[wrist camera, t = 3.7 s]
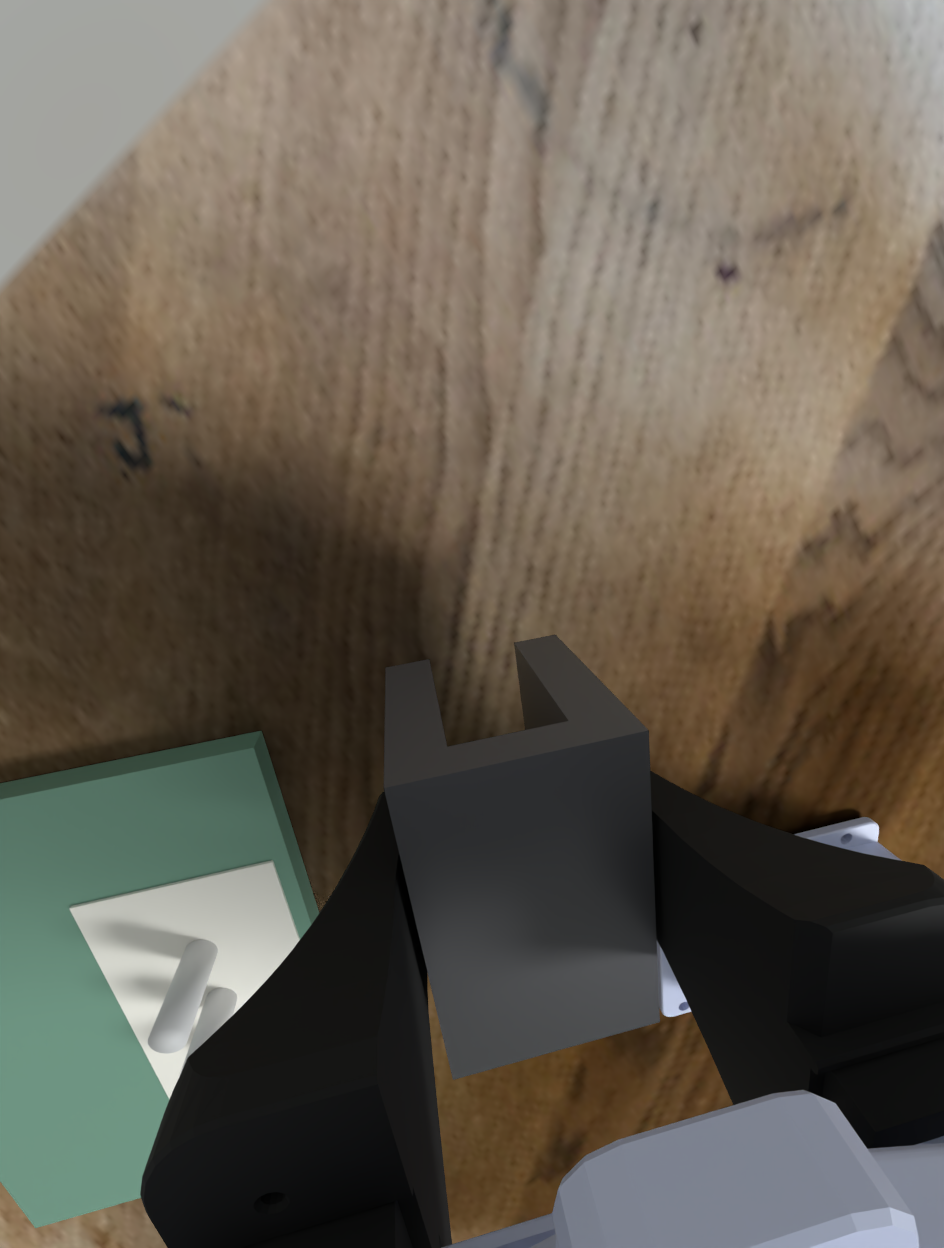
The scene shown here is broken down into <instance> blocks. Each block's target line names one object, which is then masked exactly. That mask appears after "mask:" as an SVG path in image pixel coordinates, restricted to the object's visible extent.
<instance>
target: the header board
mask: <svg viewBox="0 0 944 1248" xmlns="http://www.w3.org/2000/svg"><path fill="white" fill-rule="evenodd" d="M318 914H319V910H318V907H317V904H316V901H315V898H314V894H313V891H312V888H311V885H310V882H309V879H308V876H307V872H306V869H305V866H304V863H303V860H302V857H301V853H300V850H299V847H298V844H297V841H296V838H295V834H294V831H293V828H292V825H291V822H290V819H289V816H288V812H287V809H286V806H285V803H284V800H283V797H282V793H281V790H280V787H279V784H278V781H277V778H276V775H275V771H274V768H273V765H272V762H271V759H270V756H269V752H268V749H267V746H266V743H265V740H264V737H263V733H262V731H257V732H252V733H247V734H242V735H237V736H232V737H227V738H223V739H218V740H213V741H208V742H203V743H198V744H193V745H188V746H183V747H178V748H173V749H168V750H163V751H158V752H153V753H148V754H143V755H138V756H133V757H128V758H123V759H118V760H113V761H109V762H104V763H99V764H94V765H89V766H84V767H79V768H74V769H69V770H64V771H59V772H54V773H49V774H44V775H39V776H34V777H29V778H24V779H19V780H14V781H9V782H4V783H0V1182H1V1183H2V1184H3V1186H4V1187H5V1188H6V1190H7V1191H8V1192H9V1194H10V1195H11V1196H12V1198H13V1199H14V1200H15V1202H16V1203H17V1204H18V1205H19V1207H20V1208H21V1209H22V1211H23V1212H24V1213H25V1215H26V1216H27V1217H28V1219H29V1220H30V1221H31V1223H32V1224H33V1225H34V1227H35V1228H37V1227H41V1226H44V1225H48V1224H51V1223H55V1222H58V1221H62V1220H65V1219H69V1218H72V1217H76V1216H79V1215H83V1214H86V1213H90V1212H93V1211H96V1210H100V1209H103V1208H107V1207H110V1206H114V1205H117V1204H121V1203H124V1202H128V1201H131V1200H135V1199H138V1198H141V1196H140V1191H141V1183H142V1176H143V1173H144V1170H145V1167H146V1164H147V1161H148V1158H149V1155H150V1153H151V1150H152V1147H153V1144H154V1141H155V1138H156V1135H157V1132H158V1130H159V1127H160V1124H161V1121H162V1118H163V1115H164V1112H165V1109H166V1107H167V1104H168V1102H169V1100H170V1097H171V1095H172V1092H173V1090H174V1087H175V1085H176V1083H177V1081H178V1079H179V1077H180V1075H181V1073H182V1070H183V1068H184V1065H185V1063H186V1060H187V1058H188V1057H189V1056H190V1055H191V1054H192V1053H193V1052H194V1051H195V1050H196V1049H198V1048H199V1047H200V1046H201V1045H202V1044H203V1043H204V1042H205V1041H206V1040H207V1039H208V1038H209V1037H210V1036H211V1035H212V1034H214V1033H215V1032H216V1031H217V1030H218V1029H219V1028H220V1027H221V1026H222V1025H223V1024H224V1023H225V1022H226V1021H227V1020H228V1019H229V1018H230V1017H231V1016H233V1015H234V1014H235V1013H236V1012H237V1011H238V1010H239V1009H240V1008H241V1007H242V1006H243V1005H244V1004H245V1003H246V1002H247V1001H248V999H249V998H250V997H251V996H252V995H253V994H254V993H255V992H256V991H257V990H258V989H259V988H260V987H261V986H262V985H263V984H264V982H265V981H266V980H267V979H268V978H269V977H270V976H271V975H272V973H273V972H274V971H275V970H276V969H277V968H278V967H279V966H280V964H281V963H282V962H283V961H284V960H285V958H286V957H287V956H288V955H289V953H290V952H291V951H292V950H293V948H294V947H295V946H296V944H297V943H298V942H299V940H300V939H301V938H302V936H303V935H304V934H305V932H306V931H307V930H308V928H309V927H310V926H311V924H312V923H313V922H314V920H315V919H316V917H317V916H318Z"/></svg>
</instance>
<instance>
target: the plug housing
mask: <svg viewBox="0 0 944 1248" xmlns="http://www.w3.org/2000/svg"><path fill="white" fill-rule="evenodd" d="M514 646H515V654H516V662H517V670H518V678H519V685H520V693H521V701H522V709H523V717H524V725H525V730H524V731H519V732H514V733H510V734H505V735H500V736H495V737H491V738H486V739H481V740H477V741H472V742H467V743H462V744H458V745H453V746H448V747H447V743H446V738H445V733H444V729H443V724H442V719H441V714H440V709H439V704H438V699H437V695H436V690H435V685H434V680H433V675H432V670H431V665H430V661H429V659H428V660H422V661H417V662H412V663H407V664H402V665H397V666H391V667H386V677H385V740H384V791H385V796H386V800H387V804H388V808H389V812H390V817H391V821H392V825H393V829H394V833H395V838H396V842H397V846H398V850H399V854H400V859H401V863H402V867H403V871H404V875H405V880H406V884H407V888H408V892H409V896H410V901H411V905H412V909H413V913H414V917H415V922H416V926H417V930H418V934H419V938H420V943H421V947H422V951H423V955H424V959H425V964H426V968H427V972H428V976H429V980H430V985H431V989H432V993H433V997H434V1001H435V1006H436V1010H437V1014H438V1018H439V1022H440V1027H441V1031H442V1035H443V1039H444V1043H445V1048H446V1052H447V1056H448V1060H449V1064H450V1069H451V1073H452V1077H453V1080H454V1079H458V1078H461V1077H465V1076H468V1075H472V1074H475V1073H479V1072H483V1071H486V1070H490V1069H493V1068H497V1067H500V1066H504V1065H508V1064H511V1063H515V1062H518V1061H522V1060H525V1059H529V1058H533V1057H536V1056H540V1055H543V1054H547V1053H550V1052H554V1051H558V1050H561V1049H565V1048H568V1047H572V1046H575V1045H579V1044H583V1043H586V1042H590V1041H593V1040H597V1039H600V1038H604V1037H607V1036H611V1035H615V1034H618V1033H622V1032H625V1031H629V1030H632V1029H636V1028H640V1027H643V1026H647V1025H650V1024H654V1023H657V1022H660V1017H659V991H658V965H657V938H656V912H655V886H654V860H653V833H652V807H651V781H650V755H649V730H648V729H647V728H646V727H645V726H644V725H643V724H642V723H641V722H640V721H639V720H638V719H637V718H636V717H635V716H634V715H633V714H632V713H631V712H630V711H629V710H628V709H627V708H626V707H625V706H624V705H623V704H622V703H621V702H620V701H619V700H618V698H617V697H616V696H615V695H614V694H613V693H612V692H611V691H610V690H609V689H608V688H607V687H606V686H605V685H604V684H603V683H602V682H601V681H600V680H599V679H598V678H597V677H596V676H595V675H594V674H593V673H592V672H591V671H590V670H589V669H588V668H587V667H586V666H585V665H584V664H583V663H582V661H581V660H580V659H579V658H578V657H577V656H576V655H575V654H574V653H573V652H572V651H571V650H570V649H569V648H568V647H567V646H566V645H565V644H564V643H563V642H562V641H561V640H560V639H559V638H558V637H557V636H556V635H551V636H546V637H541V638H536V639H531V640H526V641H520V642H515V643H514Z"/></svg>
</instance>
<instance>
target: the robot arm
mask: <svg viewBox="0 0 944 1248" xmlns="http://www.w3.org/2000/svg"><path fill="white" fill-rule="evenodd" d="M650 781H651V807H652V833H653V860H654V886H655V912H656V938H657V965H658V991H659V1007H660V1009H661V1011H662V1013H663V1015H665V1016H668V1017H673V1016H677V1015H680V1014H684V1013H688V1012H691V1011H692V1013H693V1016H694V1018H695V1020H696V1022H697V1024H698V1026H699V1029H700V1031H701V1033H702V1035H703V1037H704V1039H705V1042H706V1044H707V1046H708V1048H709V1050H710V1053H711V1055H712V1057H713V1060H714V1062H715V1064H716V1066H717V1069H718V1071H719V1073H720V1075H721V1078H722V1080H723V1082H724V1084H725V1087H726V1089H727V1091H728V1093H729V1096H730V1098H731V1100H732V1102H733V1106H729V1107H726V1108H723V1109H719V1110H716V1111H713V1112H709V1113H706V1114H703V1115H699V1116H696V1117H693V1118H689V1119H686V1120H683V1121H679V1122H676V1123H673V1124H669V1125H666V1126H663V1127H659V1128H656V1129H653V1130H649V1131H646V1132H643V1133H639V1134H636V1135H633V1136H629V1137H626V1138H623V1139H619V1140H617V1141H615V1142H613V1143H611V1144H608V1145H606V1146H604V1147H602V1148H600V1149H598V1150H596V1151H594V1152H592V1153H590V1154H588V1155H586V1156H584V1157H583V1158H582V1159H581V1160H580V1161H579V1162H578V1163H577V1164H576V1165H575V1166H574V1167H573V1169H572V1170H571V1171H570V1172H569V1173H568V1174H567V1175H566V1176H565V1177H564V1178H563V1179H562V1181H561V1184H560V1186H559V1189H558V1193H557V1196H556V1200H555V1204H554V1208H553V1212H552V1213H551V1214H548V1215H545V1216H542V1217H539V1218H535V1219H532V1220H529V1221H526V1222H523V1223H519V1224H516V1225H513V1226H510V1227H506V1228H503V1229H500V1230H497V1231H494V1232H490V1233H487V1234H484V1235H481V1236H478V1237H474V1238H471V1239H468V1240H465V1241H461V1242H458V1243H455V1244H452V1239H451V1230H450V1221H449V1212H448V1203H447V1194H446V1185H445V1175H444V1166H443V1156H442V1147H441V1137H440V1128H439V1118H438V1108H437V1098H436V1088H435V1077H434V1067H433V1057H432V1046H431V1035H430V1024H429V1014H428V992H427V968H426V964H425V959H424V955H423V951H422V947H421V943H420V938H419V934H418V930H417V926H416V922H415V917H414V913H413V909H412V905H411V901H410V896H409V892H408V888H407V884H406V880H405V875H404V871H403V867H402V863H401V859H400V854H399V850H398V846H397V842H396V838H395V833H394V829H393V825H392V821H391V817H390V812H389V808H388V804H387V800H386V796H385V792H382V794H381V795H380V796H379V798H378V801H377V804H376V807H375V810H374V812H373V815H372V817H371V819H370V822H369V824H368V826H367V829H366V831H365V833H364V835H363V837H362V839H361V841H360V843H359V846H358V848H357V850H356V852H355V854H354V856H353V858H352V860H351V861H350V863H349V865H348V867H347V869H346V870H345V872H344V874H343V876H342V877H341V879H340V881H339V883H338V885H337V886H336V888H335V890H334V891H333V893H332V894H331V896H330V898H329V899H328V901H327V902H326V904H325V905H324V907H323V908H322V910H321V911H320V913H319V914H318V916H317V917H316V919H315V920H314V922H313V923H312V924H311V926H310V927H309V928H308V930H307V931H306V932H305V934H304V935H303V936H302V938H301V939H300V940H299V942H298V943H297V944H296V946H295V947H294V948H293V950H292V951H291V952H290V953H289V955H288V956H287V957H286V958H285V960H284V961H283V962H282V963H281V964H280V966H279V967H278V968H277V969H276V970H275V971H274V972H273V973H272V975H271V976H270V977H269V978H268V979H267V980H266V981H265V982H264V984H263V985H262V986H261V987H260V988H259V989H258V990H257V991H256V992H255V993H254V994H253V995H252V996H251V997H250V998H249V999H248V1001H247V1002H246V1003H245V1004H244V1005H243V1006H242V1007H241V1008H240V1009H239V1010H238V1011H237V1012H236V1013H235V1014H234V1015H233V1016H231V1017H230V1018H229V1019H228V1020H227V1021H226V1022H225V1023H224V1024H223V1025H222V1026H221V1027H220V1028H219V1029H218V1030H217V1031H216V1032H215V1033H214V1034H212V1035H211V1036H210V1037H209V1038H208V1039H207V1040H206V1041H205V1042H204V1043H203V1044H202V1045H201V1046H200V1047H199V1048H198V1049H196V1050H195V1051H194V1052H193V1053H192V1054H191V1055H190V1056H189V1057H188V1058H187V1060H186V1063H185V1065H184V1068H183V1070H182V1073H181V1075H180V1077H179V1079H178V1081H177V1083H176V1085H175V1087H174V1090H173V1092H172V1095H171V1097H170V1100H169V1102H168V1104H167V1107H166V1109H165V1112H164V1115H163V1118H162V1121H161V1124H160V1127H159V1130H158V1132H157V1135H156V1138H155V1141H154V1144H153V1147H152V1150H151V1153H150V1155H149V1158H148V1161H147V1164H146V1167H145V1170H144V1173H143V1176H142V1183H141V1191H140V1196H141V1199H142V1201H143V1204H144V1207H145V1210H146V1212H147V1214H148V1216H149V1218H150V1219H151V1221H152V1223H153V1224H154V1226H155V1228H156V1229H157V1231H158V1233H159V1234H160V1236H161V1237H162V1239H163V1241H164V1242H165V1244H166V1246H167V1247H168V1248H944V879H942V878H941V877H940V876H938V875H937V874H936V873H934V872H933V871H931V870H930V869H929V868H927V867H926V866H924V865H920V864H915V863H910V862H905V861H901V860H900V859H899V858H897V857H896V856H895V855H894V854H892V853H891V852H890V851H888V850H887V849H886V848H885V847H883V846H882V845H881V844H879V843H878V842H877V840H878V833H879V826H878V824H877V823H876V822H874V821H873V820H872V819H870V818H868V817H862V818H857V819H853V820H849V821H845V822H841V823H837V824H833V825H829V826H825V827H821V828H817V829H813V830H809V831H805V832H801V833H797V834H791V833H788V832H785V831H782V830H778V829H775V828H772V827H769V826H767V825H764V824H761V823H758V822H756V821H753V820H750V819H748V818H745V817H743V816H741V815H738V814H736V813H733V812H731V811H728V810H726V809H724V808H721V807H719V806H717V805H715V804H712V803H710V802H708V801H706V800H704V799H702V798H700V797H698V796H696V795H694V794H692V793H690V792H688V791H686V790H684V789H682V788H680V787H678V786H677V785H675V784H673V783H671V782H669V781H667V780H666V779H664V778H662V777H660V776H659V775H657V774H655V773H653V772H652V771H650Z"/></svg>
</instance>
